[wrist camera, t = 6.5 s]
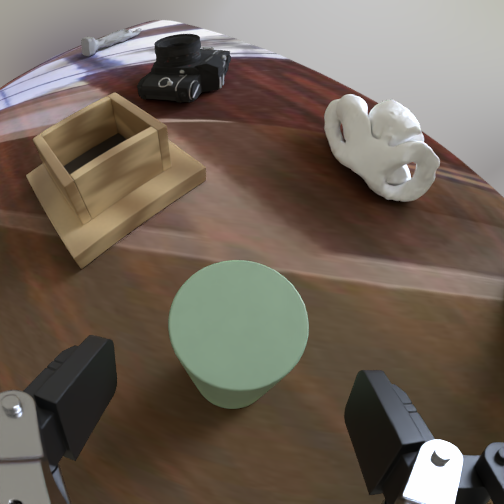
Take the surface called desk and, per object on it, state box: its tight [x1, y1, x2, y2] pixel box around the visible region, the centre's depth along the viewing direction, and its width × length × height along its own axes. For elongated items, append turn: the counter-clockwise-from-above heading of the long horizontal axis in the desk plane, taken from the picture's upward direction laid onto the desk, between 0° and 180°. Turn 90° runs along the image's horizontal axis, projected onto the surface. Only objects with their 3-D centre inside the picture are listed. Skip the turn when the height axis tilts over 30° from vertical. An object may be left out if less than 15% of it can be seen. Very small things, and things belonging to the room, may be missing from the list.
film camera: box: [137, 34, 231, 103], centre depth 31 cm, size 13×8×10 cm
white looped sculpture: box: [324, 94, 440, 202], centre depth 26 cm, size 9×12×8 cm
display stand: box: [26, 93, 206, 269], centre depth 22 cm, size 12×12×6 cm
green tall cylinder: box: [168, 260, 309, 409], centre depth 13 cm, size 4×4×9 cm
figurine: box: [81, 28, 141, 56], centre depth 42 cm, size 4×12×4 cm, turn 142°
